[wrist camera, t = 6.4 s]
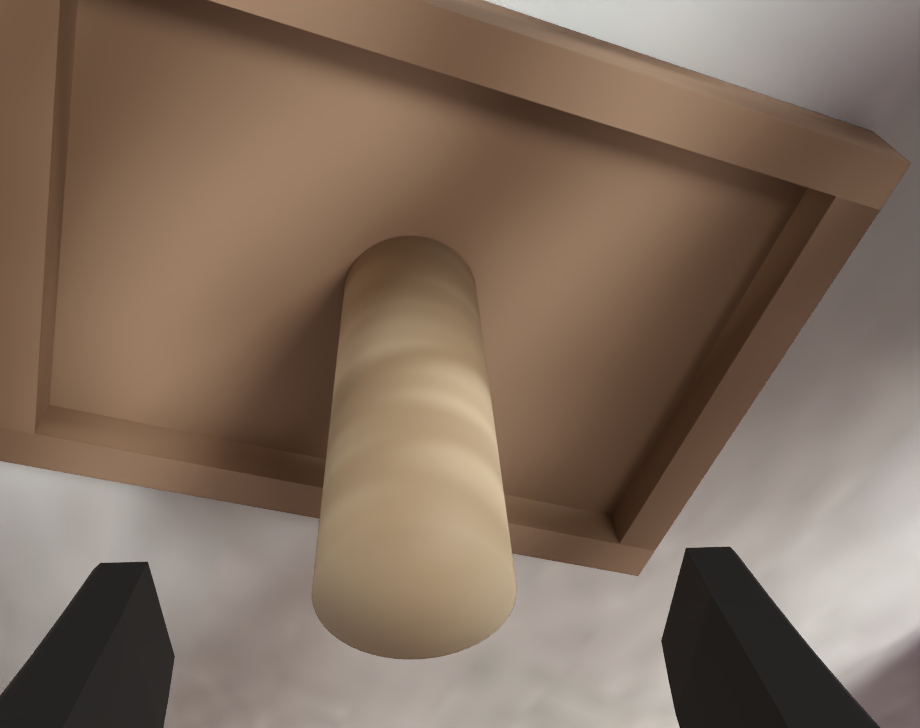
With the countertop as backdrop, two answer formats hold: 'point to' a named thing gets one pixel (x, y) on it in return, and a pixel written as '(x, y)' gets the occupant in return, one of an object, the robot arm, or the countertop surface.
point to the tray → (392, 215)
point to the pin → (412, 463)
